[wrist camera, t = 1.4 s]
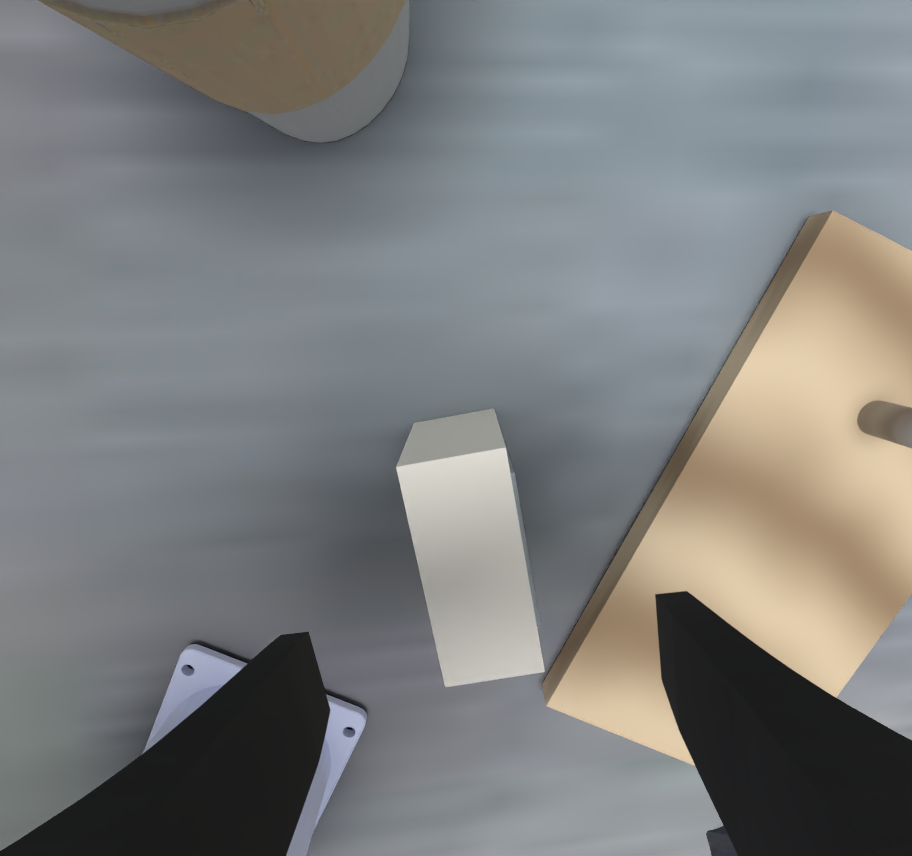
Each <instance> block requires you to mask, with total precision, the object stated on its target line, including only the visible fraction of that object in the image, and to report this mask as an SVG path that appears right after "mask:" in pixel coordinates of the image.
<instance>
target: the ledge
mask: <svg viewBox="0 0 912 856" xmlns="http://www.w3.org/2000/svg"><path fill="white" fill-rule="evenodd" d="M682 591H688V592H689V593H690V594H691V595H693V596H694V597H695V598H697V599H698V600H699V601H701V602H702V603H703V604H704V605H706V606H707V607H708V608H710V609H711V610H712V611H713V612H715V613H716V614H717V615H718V616H720V617H721V618H722V619H724V620H725V621H726V622H727V623H729V624H730V625H731V626H733V627H734V628H735V629H737V630H738V631H739V632H740V633H742V634H743V635H744V636H746V637H747V638H748V639H750V640H751V641H752V642H754V643H755V644H757V645H758V646H759V647H761V648H762V649H764V650H765V651H766V652H768V653H769V654H770V655H772V656H773V657H775V658H776V659H778V660H779V661H780V662H782V663H783V664H785V665H786V666H788V667H789V668H791V669H792V670H794V671H795V672H797V673H798V674H800V675H801V676H803V677H804V678H806V679H807V680H809V681H811V682H812V683H814V684H815V685H817V686H818V687H820V688H821V689H823V690H824V691H826V692H828V693H829V694H831V695H832V696H834V697H837V696H838V694H839V693H840V692H841V690H842V689H843V687H844V686H845V685H846V683H847V682H848V681H849V679H850V678H851V676H852V675H853V674H854V672H855V671H856V669H857V668H858V667H859V665H860V664H861V663H862V661H863V660H864V658H865V657H866V656H867V654H868V653H869V652H870V650H871V649H872V647H873V646H874V645H875V643H876V642H877V641H878V639H879V638H880V636H881V635H882V634H883V632H884V631H885V630H886V628H887V627H888V625H889V624H890V623H891V621H892V620H893V618H894V617H895V616H896V614H897V613H898V612H899V610H900V609H901V607H902V606H903V605H904V603H905V602H906V601H907V599H908V598H909V596H910V595H911V594H912V251H911V250H909V249H907V248H905V247H903V246H901V245H899V244H897V243H895V242H893V241H891V240H889V239H887V238H885V237H883V236H881V235H879V234H877V233H876V232H874V231H872V230H870V229H868V228H866V227H864V226H862V225H860V224H858V223H856V222H854V221H852V220H850V219H848V218H846V217H844V216H842V215H840V214H838V213H837V212H835V211H829V212H825V213H821V214H817V215H813V216H809V217H808V219H807V220H806V222H805V224H804V226H803V227H802V229H801V231H800V233H799V234H798V236H797V238H796V240H795V241H794V243H793V245H792V247H791V248H790V250H789V252H788V254H787V255H786V257H785V259H784V261H783V262H782V264H781V266H780V268H779V269H778V271H777V273H776V275H775V276H774V278H773V280H772V282H771V284H770V285H769V287H768V289H767V291H766V292H765V294H764V296H763V298H762V299H761V301H760V303H759V305H758V306H757V308H756V310H755V312H754V313H753V315H752V317H751V319H750V320H749V322H748V324H747V326H746V327H745V329H744V331H743V333H742V334H741V336H740V338H739V340H738V341H737V343H736V345H735V347H734V348H733V350H732V352H731V354H730V355H729V357H728V359H727V361H726V362H725V364H724V366H723V368H722V369H721V371H720V373H719V375H718V377H717V378H716V380H715V382H714V384H713V385H712V387H711V389H710V391H709V392H708V394H707V396H706V398H705V399H704V401H703V403H702V405H701V406H700V408H699V410H698V412H697V413H696V415H695V417H694V419H693V420H692V422H691V424H690V426H689V427H688V429H687V431H686V433H685V434H684V436H683V438H682V440H681V441H680V443H679V445H678V447H677V448H676V450H675V452H674V454H673V455H672V457H671V459H670V461H669V462H668V464H667V466H666V468H665V470H664V471H663V473H662V475H661V477H660V478H659V480H658V482H657V484H656V485H655V487H654V489H653V491H652V492H651V494H650V496H649V498H648V499H647V501H646V503H645V505H644V506H643V508H642V510H641V512H640V513H639V515H638V517H637V519H636V520H635V522H634V524H633V526H632V527H631V529H630V531H629V533H628V534H627V536H626V538H625V540H624V541H623V543H622V545H621V547H620V548H619V550H618V552H617V554H616V555H615V557H614V559H613V561H612V563H611V564H610V566H609V568H608V570H607V571H606V573H605V575H604V577H603V578H602V580H601V582H600V584H599V585H598V587H597V589H596V591H595V592H594V594H593V596H592V598H591V599H590V601H589V603H588V605H587V606H586V608H585V610H584V612H583V613H582V615H581V617H580V619H579V620H578V622H577V624H576V626H575V627H574V629H573V631H572V633H571V634H570V636H569V638H568V640H567V641H566V643H565V645H564V647H563V648H562V650H561V652H560V654H559V656H558V657H557V659H556V661H555V663H554V664H553V666H552V668H551V670H550V671H549V673H548V675H547V677H546V678H545V680H544V682H543V684H542V688H543V693H544V697H545V702H546V706H547V707H550V708H552V709H555V710H557V711H560V712H562V713H565V714H567V715H570V716H572V717H575V718H577V719H580V720H582V721H585V722H587V723H590V724H592V725H595V726H597V727H600V728H602V729H605V730H607V731H610V732H612V733H615V734H617V735H620V736H622V737H625V738H627V739H630V740H632V741H635V742H637V743H640V744H642V745H645V746H647V747H649V748H652V749H654V750H657V751H659V752H662V753H664V754H667V755H669V756H672V757H674V758H677V759H679V760H682V761H684V762H687V763H689V764H692V765H694V766H695V764H694V762H693V760H692V757H691V755H690V753H689V751H688V749H687V747H686V745H685V742H684V740H683V738H682V736H681V734H680V732H679V729H678V726H677V723H676V720H675V718H674V715H673V712H672V709H671V706H670V703H669V700H668V697H667V694H666V691H665V688H664V685H663V682H662V679H661V666H660V652H659V639H658V626H657V612H656V599H655V594H663V593H672V592H682Z"/></svg>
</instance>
